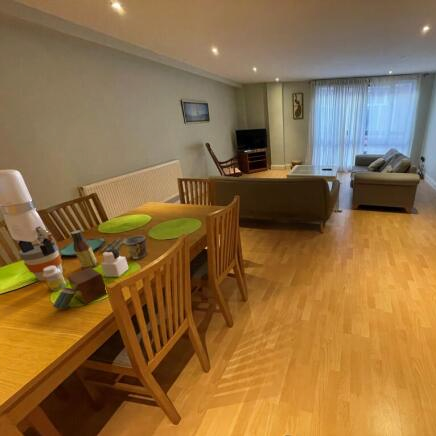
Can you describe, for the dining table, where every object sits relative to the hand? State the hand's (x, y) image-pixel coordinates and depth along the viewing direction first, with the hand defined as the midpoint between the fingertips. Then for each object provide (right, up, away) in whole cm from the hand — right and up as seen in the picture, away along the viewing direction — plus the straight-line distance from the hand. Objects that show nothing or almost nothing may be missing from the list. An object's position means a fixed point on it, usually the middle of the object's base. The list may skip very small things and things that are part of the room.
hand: (39, 252), depth 86 cm
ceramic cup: (+8, -9, +45) cm, 46 cm away
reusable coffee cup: (-26, -15, +30) cm, 42 cm away
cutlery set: (-25, -5, +54) cm, 59 cm away
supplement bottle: (-14, -19, +21) cm, 31 cm away
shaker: (+1, -19, +8) cm, 21 cm away
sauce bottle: (-12, -12, +36) cm, 40 cm away
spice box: (+5, -20, +16) cm, 27 cm away
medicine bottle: (+5, -15, +31) cm, 35 cm away
